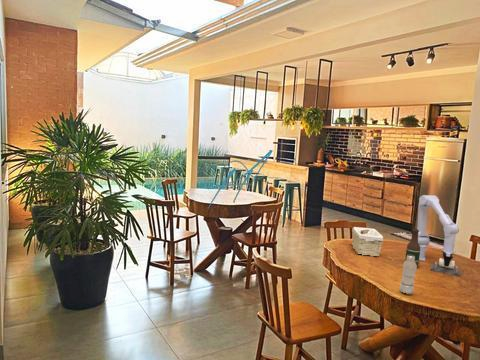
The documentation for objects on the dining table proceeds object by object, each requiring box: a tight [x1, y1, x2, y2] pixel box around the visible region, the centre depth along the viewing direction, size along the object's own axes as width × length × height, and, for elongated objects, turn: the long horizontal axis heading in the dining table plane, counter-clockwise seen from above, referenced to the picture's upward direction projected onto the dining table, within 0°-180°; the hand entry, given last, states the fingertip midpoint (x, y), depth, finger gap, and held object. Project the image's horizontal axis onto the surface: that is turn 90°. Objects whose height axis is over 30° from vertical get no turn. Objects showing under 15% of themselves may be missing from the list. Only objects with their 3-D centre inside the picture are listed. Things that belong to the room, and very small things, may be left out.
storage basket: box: [351, 226, 384, 257], centre depth 255 cm, size 24×16×15 cm
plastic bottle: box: [399, 255, 417, 295], centre depth 186 cm, size 6×7×20 cm
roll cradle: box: [430, 261, 462, 277], centre depth 226 cm, size 16×10×4 cm, turn 61°
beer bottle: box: [404, 228, 420, 268], centre depth 229 cm, size 8×8×24 cm
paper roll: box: [438, 257, 456, 269], centre depth 225 cm, size 9×5×5 cm, turn 61°
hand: (446, 264), depth 225 cm, fingers closed on paper roll, 5 cm apart
